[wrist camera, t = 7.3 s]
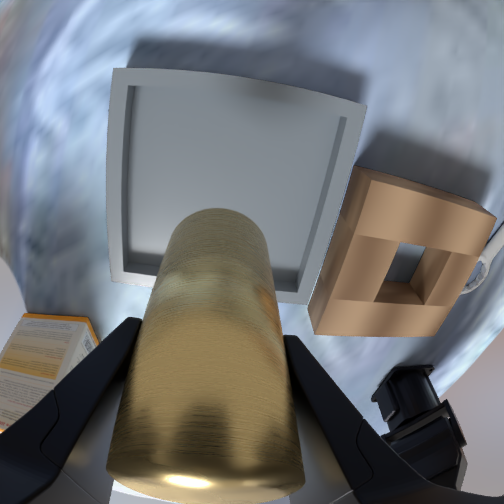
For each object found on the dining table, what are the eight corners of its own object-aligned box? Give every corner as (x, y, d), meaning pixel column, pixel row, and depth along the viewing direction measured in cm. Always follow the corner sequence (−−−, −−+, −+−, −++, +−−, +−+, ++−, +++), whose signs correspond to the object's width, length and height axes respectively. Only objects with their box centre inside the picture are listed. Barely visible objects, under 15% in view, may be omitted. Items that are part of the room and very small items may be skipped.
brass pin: (277, 215, 12) (337, 456, 4) (257, 298, 14) (277, 506, 6) (171, 201, 11) (82, 436, 4) (167, 287, 13) (124, 494, 6)
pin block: (475, 202, 21) (497, 218, 18) (421, 315, 27) (434, 336, 24) (353, 165, 19) (371, 180, 16) (307, 308, 25) (314, 334, 22)
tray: (354, 102, 17) (367, 105, 15) (302, 288, 24) (307, 304, 22) (125, 68, 15) (113, 68, 13) (119, 265, 22) (111, 281, 20)
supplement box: (41, 344, 27) (-2, 444, 15) (23, 310, 24) (-33, 415, 13) (105, 351, 27) (71, 470, 16) (90, 315, 25) (40, 444, 13)
